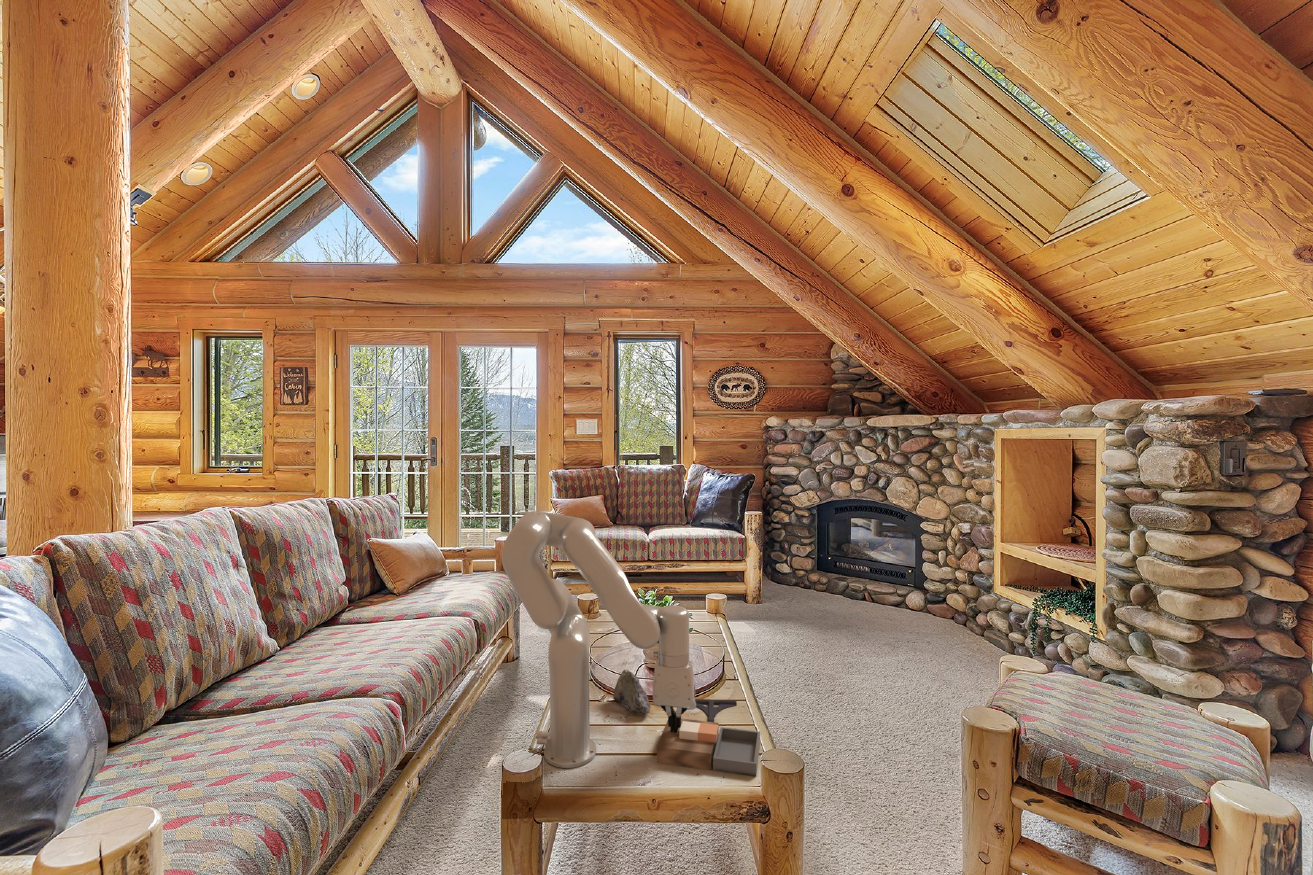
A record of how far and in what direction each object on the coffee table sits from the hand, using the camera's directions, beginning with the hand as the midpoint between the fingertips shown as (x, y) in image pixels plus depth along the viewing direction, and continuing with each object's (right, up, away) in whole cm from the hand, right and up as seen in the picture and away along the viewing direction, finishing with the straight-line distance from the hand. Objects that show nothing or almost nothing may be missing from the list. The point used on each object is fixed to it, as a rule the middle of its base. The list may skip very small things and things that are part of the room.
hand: (674, 729), depth 151 cm
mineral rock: (-12, -4, +20) cm, 24 cm away
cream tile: (+4, -1, -1) cm, 4 cm away
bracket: (+10, -5, +16) cm, 20 cm away
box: (+15, -5, -3) cm, 16 cm away
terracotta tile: (+8, -1, -2) cm, 8 cm away
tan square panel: (+3, -5, -1) cm, 6 cm away
